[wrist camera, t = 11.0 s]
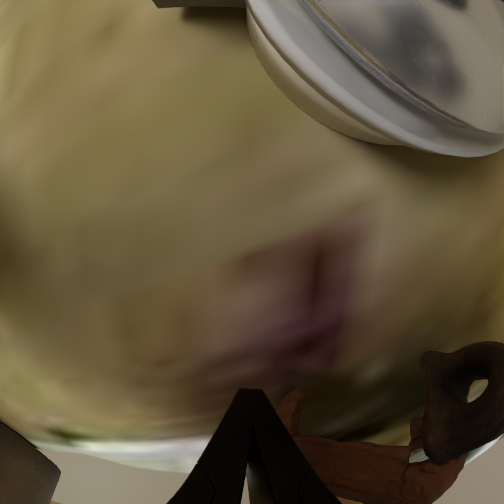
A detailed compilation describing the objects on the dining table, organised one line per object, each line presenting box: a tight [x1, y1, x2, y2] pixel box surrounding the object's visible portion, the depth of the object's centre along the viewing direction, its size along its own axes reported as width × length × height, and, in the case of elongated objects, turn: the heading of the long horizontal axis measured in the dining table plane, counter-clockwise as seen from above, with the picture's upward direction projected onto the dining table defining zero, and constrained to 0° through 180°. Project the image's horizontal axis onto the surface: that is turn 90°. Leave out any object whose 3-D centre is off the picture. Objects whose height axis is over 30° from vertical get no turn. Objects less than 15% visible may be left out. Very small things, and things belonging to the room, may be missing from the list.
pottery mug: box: [276, 341, 504, 504], centre depth 9 cm, size 12×10×8 cm
